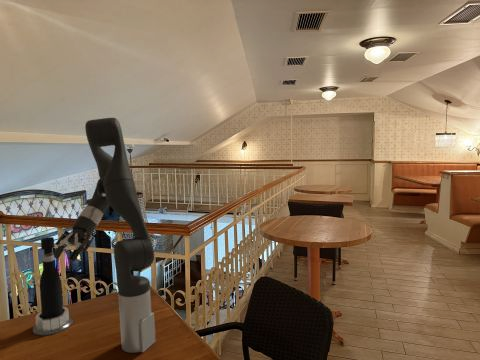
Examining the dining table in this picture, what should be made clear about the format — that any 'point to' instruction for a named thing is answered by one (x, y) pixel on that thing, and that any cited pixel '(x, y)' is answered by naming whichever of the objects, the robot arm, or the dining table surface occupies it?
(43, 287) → the black bottle
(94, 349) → the dining table surface
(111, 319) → the dining table surface
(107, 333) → the dining table surface
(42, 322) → the bottle collar
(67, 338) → the dining table surface
